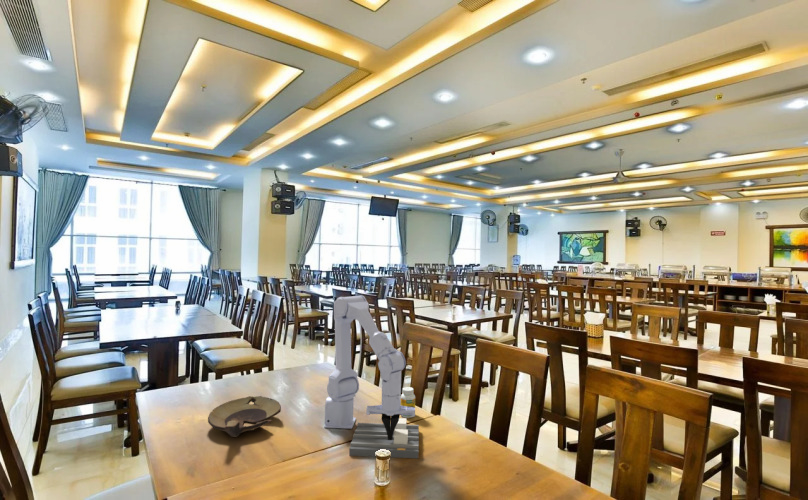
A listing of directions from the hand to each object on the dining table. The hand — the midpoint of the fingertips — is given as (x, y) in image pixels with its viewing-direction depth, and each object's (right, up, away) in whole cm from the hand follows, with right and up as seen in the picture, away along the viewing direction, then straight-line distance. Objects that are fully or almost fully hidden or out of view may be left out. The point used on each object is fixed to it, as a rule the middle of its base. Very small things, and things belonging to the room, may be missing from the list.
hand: (390, 438), depth 119 cm
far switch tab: (+3, -1, +8) cm, 8 cm away
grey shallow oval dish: (-50, -2, +12) cm, 52 cm away
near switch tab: (+3, -1, 0) cm, 3 cm away
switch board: (-1, -3, +4) cm, 5 cm away
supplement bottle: (+5, -4, +25) cm, 26 cm away
